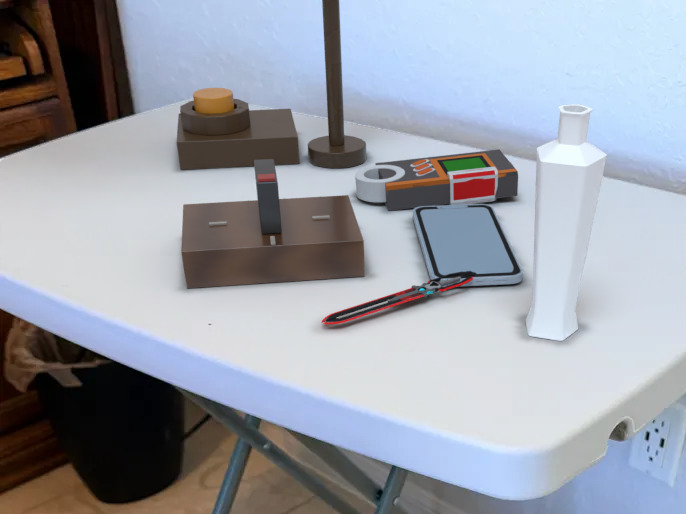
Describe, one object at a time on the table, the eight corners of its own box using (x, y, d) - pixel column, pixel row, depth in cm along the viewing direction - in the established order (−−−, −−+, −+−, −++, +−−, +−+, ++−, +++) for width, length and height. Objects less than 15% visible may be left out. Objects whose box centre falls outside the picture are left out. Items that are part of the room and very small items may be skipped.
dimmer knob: (258, 209, 77) (253, 156, 74) (277, 207, 77) (273, 155, 74) (261, 234, 73) (256, 179, 70) (281, 233, 73) (277, 178, 70)
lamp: (302, 173, 93) (279, -158, 76) (295, 148, 99) (274, -164, 82) (381, 169, 94) (376, -159, 77) (370, 144, 100) (364, -164, 83)
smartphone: (432, 280, 72) (411, 206, 83) (432, 290, 72) (410, 215, 84) (526, 275, 72) (492, 203, 84) (525, 285, 73) (491, 212, 84)
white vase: (504, 325, 68) (521, 106, 58) (549, 309, 70) (573, 95, 60) (546, 349, 65) (571, 124, 55) (592, 332, 67) (624, 112, 57)
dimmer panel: (186, 288, 72) (180, 249, 70) (188, 238, 80) (182, 202, 78) (364, 276, 74) (363, 238, 72) (349, 229, 82) (348, 193, 80)
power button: (195, 117, 93) (192, 99, 92) (195, 106, 96) (192, 88, 95) (235, 115, 94) (233, 97, 93) (234, 104, 97) (232, 86, 96)
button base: (180, 170, 93) (173, 123, 90) (182, 139, 101) (175, 95, 98) (299, 163, 95) (296, 117, 92) (292, 134, 102) (289, 90, 99)
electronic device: (350, 162, 88) (503, 145, 90) (352, 193, 90) (502, 175, 92) (360, 186, 83) (522, 168, 85) (363, 219, 85) (521, 200, 87)
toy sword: (315, 321, 68) (314, 313, 67) (467, 272, 73) (468, 264, 73) (328, 333, 66) (328, 324, 66) (482, 281, 72) (483, 274, 72)
